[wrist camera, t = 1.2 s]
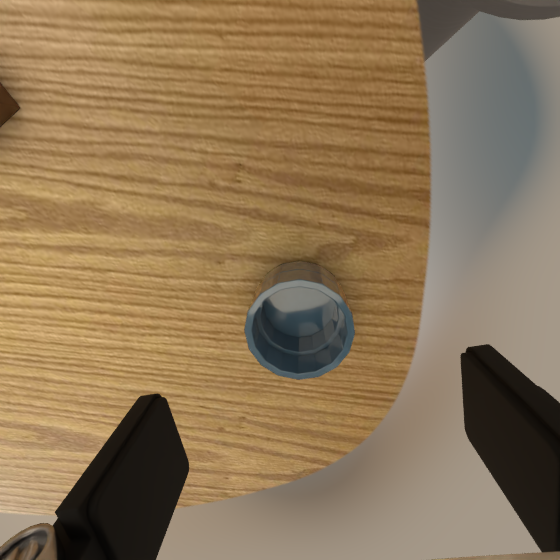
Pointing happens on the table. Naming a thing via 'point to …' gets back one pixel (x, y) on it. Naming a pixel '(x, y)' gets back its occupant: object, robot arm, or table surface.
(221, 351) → the table surface
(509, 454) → the robot arm
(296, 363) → the small cup
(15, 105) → the stand
